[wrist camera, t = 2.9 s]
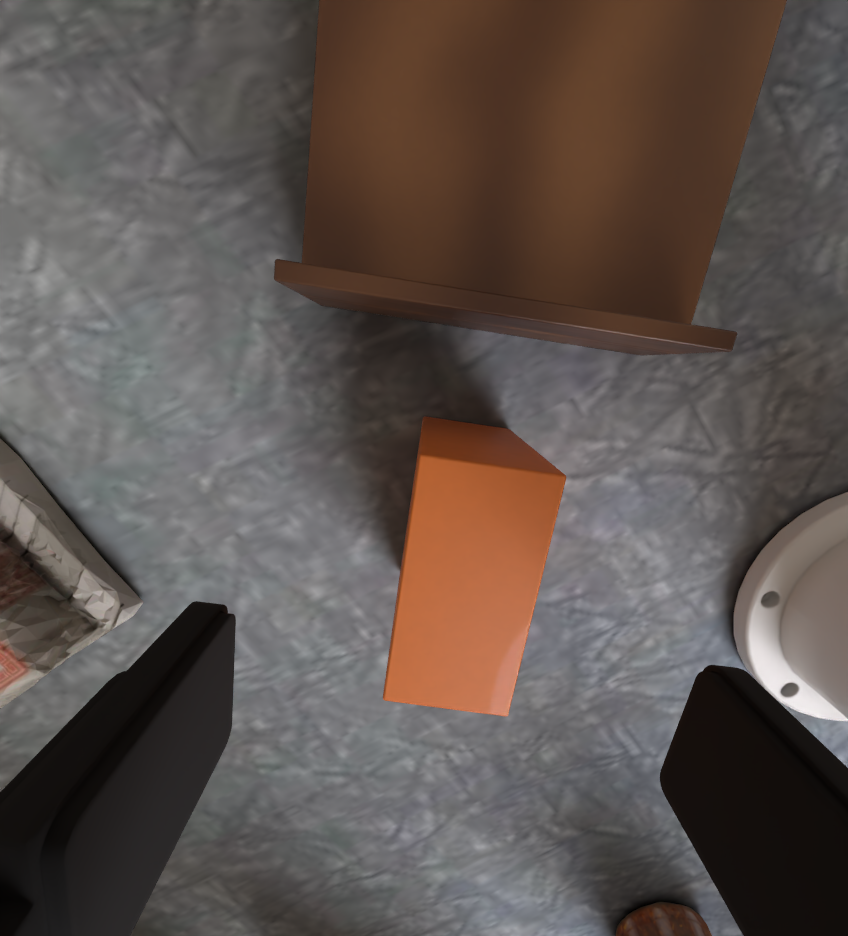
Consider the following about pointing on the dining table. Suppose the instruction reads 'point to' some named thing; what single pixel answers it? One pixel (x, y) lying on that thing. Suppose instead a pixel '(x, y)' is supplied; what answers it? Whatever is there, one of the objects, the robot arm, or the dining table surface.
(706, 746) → the robot arm
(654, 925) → the sauce bottle
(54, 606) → the packaged product
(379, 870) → the dining table surface
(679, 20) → the shelf
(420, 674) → the block
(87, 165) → the dining table surface
